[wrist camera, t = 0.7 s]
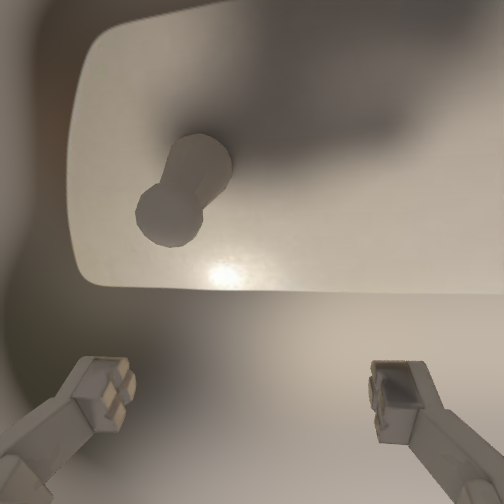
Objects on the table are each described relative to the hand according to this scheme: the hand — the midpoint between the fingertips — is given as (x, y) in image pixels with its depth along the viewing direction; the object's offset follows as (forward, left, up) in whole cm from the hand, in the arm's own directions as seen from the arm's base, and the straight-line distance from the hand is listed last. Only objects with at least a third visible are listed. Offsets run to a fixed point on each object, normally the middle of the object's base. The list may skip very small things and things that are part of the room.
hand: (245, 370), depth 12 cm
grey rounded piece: (+1, -6, -24) cm, 25 cm away
